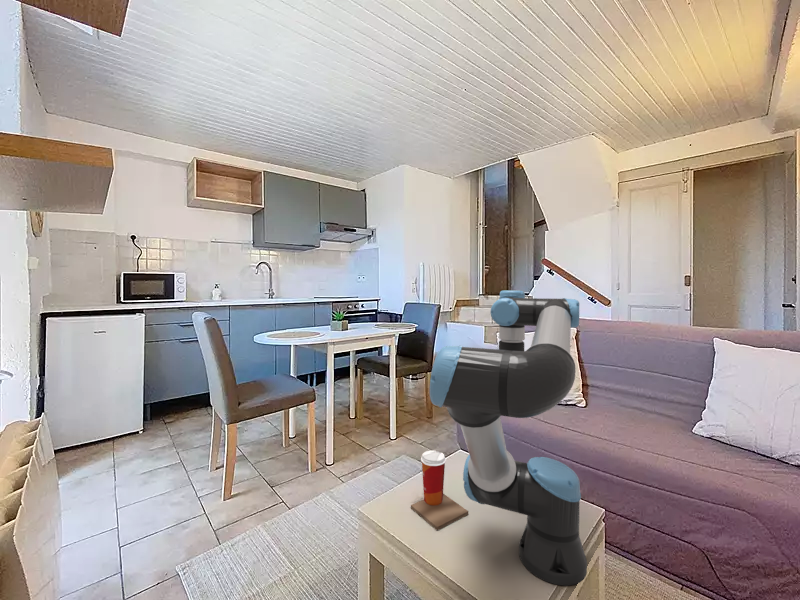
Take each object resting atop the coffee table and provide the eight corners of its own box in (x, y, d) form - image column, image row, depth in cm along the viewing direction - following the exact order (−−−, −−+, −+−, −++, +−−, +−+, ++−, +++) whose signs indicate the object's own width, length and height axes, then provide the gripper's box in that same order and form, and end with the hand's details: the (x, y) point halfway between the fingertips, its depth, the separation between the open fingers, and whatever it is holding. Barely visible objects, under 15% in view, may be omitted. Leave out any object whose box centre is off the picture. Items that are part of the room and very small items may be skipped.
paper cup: (429, 490, 116) (429, 447, 115) (450, 498, 111) (450, 454, 111) (415, 502, 109) (415, 456, 109) (437, 511, 105) (437, 464, 104)
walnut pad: (468, 514, 105) (468, 511, 105) (437, 530, 98) (437, 527, 98) (441, 494, 115) (441, 491, 115) (410, 508, 108) (410, 505, 108)
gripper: (526, 335, 120) (525, 398, 121) (473, 342, 106) (473, 413, 107) (546, 338, 114) (545, 404, 115) (493, 346, 100) (493, 421, 101)
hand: (510, 408), depth 111 cm, fingers open, 13 cm apart
